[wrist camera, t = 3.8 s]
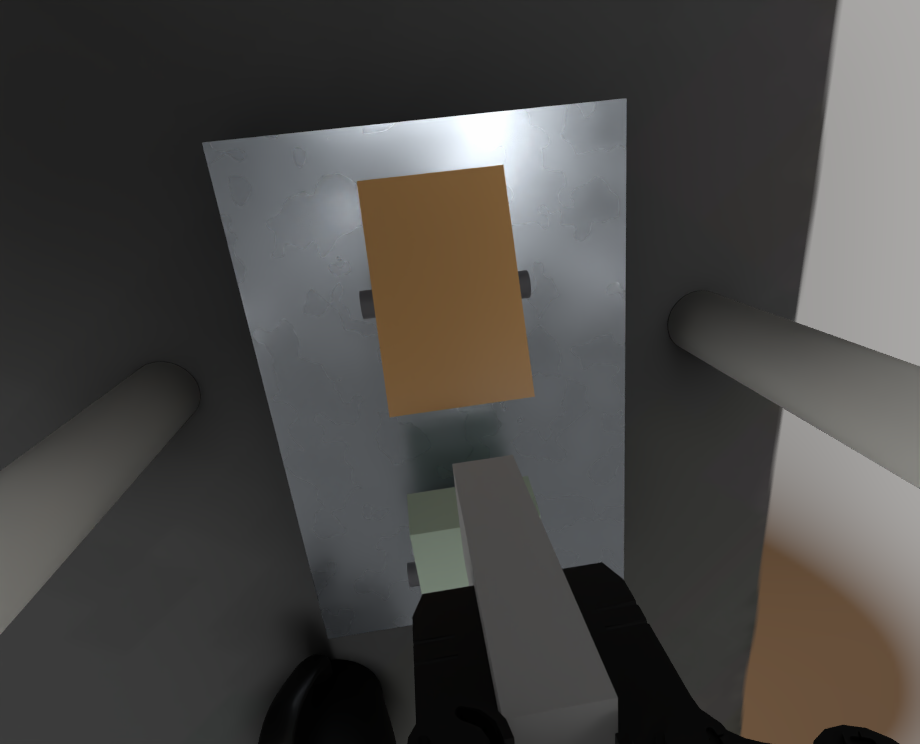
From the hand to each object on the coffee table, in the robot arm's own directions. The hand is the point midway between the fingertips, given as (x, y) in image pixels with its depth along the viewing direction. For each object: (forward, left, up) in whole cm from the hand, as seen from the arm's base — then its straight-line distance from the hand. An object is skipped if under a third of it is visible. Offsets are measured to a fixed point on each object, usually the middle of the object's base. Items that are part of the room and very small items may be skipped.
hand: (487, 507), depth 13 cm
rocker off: (-4, 0, -8) cm, 8 cm away
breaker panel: (+2, 0, -13) cm, 13 cm away
